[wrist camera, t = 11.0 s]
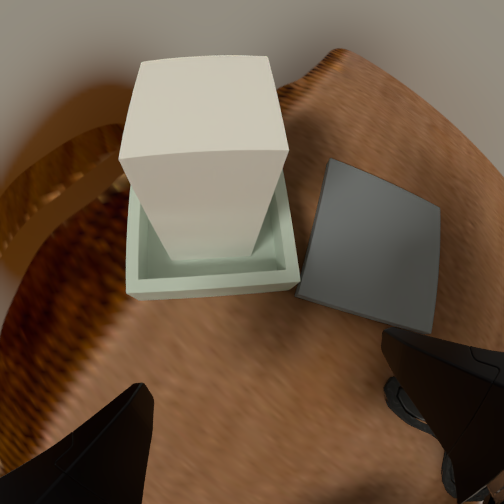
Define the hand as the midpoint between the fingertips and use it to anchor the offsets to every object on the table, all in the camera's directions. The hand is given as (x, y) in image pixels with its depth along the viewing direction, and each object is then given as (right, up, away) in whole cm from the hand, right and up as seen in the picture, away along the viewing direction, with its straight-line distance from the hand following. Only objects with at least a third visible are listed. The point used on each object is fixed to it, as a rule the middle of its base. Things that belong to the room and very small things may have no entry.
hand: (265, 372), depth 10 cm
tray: (-4, +6, +12) cm, 14 cm away
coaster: (+10, +5, +13) cm, 17 cm away
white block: (-3, +6, +11) cm, 13 cm away
